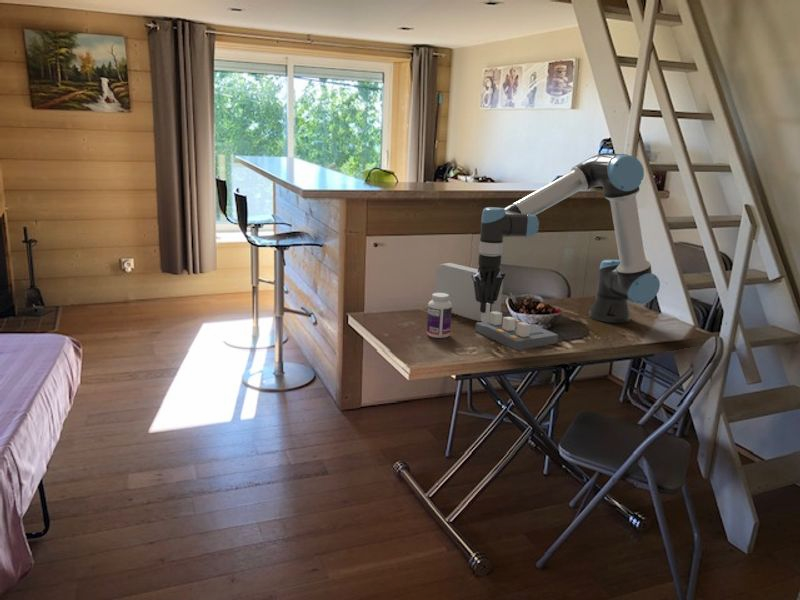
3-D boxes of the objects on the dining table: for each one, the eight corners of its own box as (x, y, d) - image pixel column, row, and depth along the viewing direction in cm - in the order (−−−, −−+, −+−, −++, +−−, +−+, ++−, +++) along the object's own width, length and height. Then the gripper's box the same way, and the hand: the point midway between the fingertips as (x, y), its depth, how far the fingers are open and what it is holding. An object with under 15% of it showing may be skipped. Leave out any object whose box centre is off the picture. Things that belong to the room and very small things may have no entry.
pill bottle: (447, 331, 219) (449, 291, 215) (452, 339, 211) (455, 297, 208) (424, 331, 218) (426, 291, 214) (428, 339, 210) (431, 297, 206)
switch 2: (523, 333, 210) (524, 321, 209) (529, 335, 208) (530, 324, 207) (516, 334, 209) (517, 322, 208) (522, 337, 206) (523, 325, 205)
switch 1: (496, 321, 222) (496, 311, 221) (501, 324, 219) (502, 313, 218) (489, 322, 220) (490, 311, 219) (494, 325, 218) (495, 314, 217)
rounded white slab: (503, 321, 234) (507, 274, 230) (490, 325, 229) (494, 277, 224) (446, 304, 254) (449, 261, 249) (433, 307, 249) (436, 263, 244)
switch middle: (508, 327, 216) (509, 316, 215) (514, 330, 214) (515, 318, 213) (502, 328, 215) (503, 317, 214) (507, 331, 212) (508, 319, 211)
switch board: (514, 325, 230) (515, 316, 229) (557, 343, 212) (558, 334, 211) (475, 330, 221) (475, 322, 220) (516, 350, 203) (517, 341, 202)
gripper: (498, 250, 217) (492, 316, 223) (467, 253, 211) (463, 320, 217) (512, 254, 211) (506, 322, 217) (481, 257, 205) (476, 326, 211)
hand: (484, 321), depth 217 cm, fingers closed
